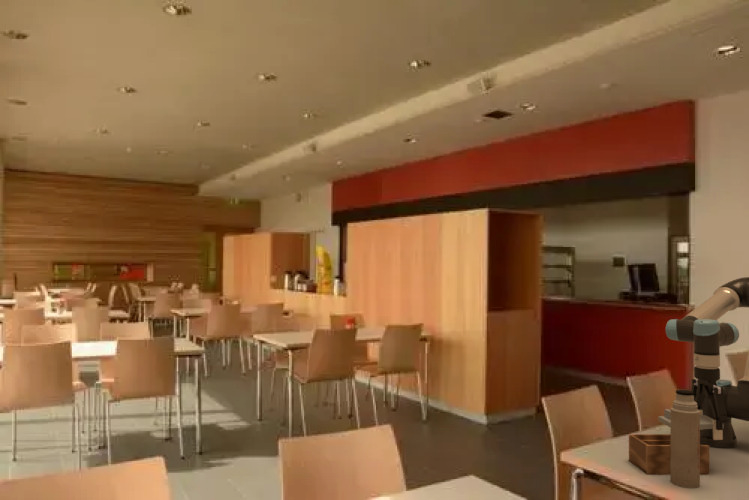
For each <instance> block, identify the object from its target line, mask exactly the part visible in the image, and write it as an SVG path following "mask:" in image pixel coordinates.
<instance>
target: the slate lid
mask: <svg viewBox="0 0 749 500" xmlns="http://www.w3.org/2000/svg"><path fill="white" fill-rule="evenodd" d="M663 410H664V412H663V413H664V415H661V416H660V415H659V416H657V417H658V419H657V420H658V421H659V422H660V423H661V424H664V425H665V426H667V427H668V428H671V408H670V409H669V408H665V409H663ZM700 429H713V419H712V418H710V417H708V416H706V415H700ZM723 429H724V424H723Z"/></svg>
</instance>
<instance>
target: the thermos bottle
mask: <svg viewBox="0 0 749 500" xmlns="http://www.w3.org/2000/svg"><path fill="white" fill-rule="evenodd" d="M675 393H676V395H675V399H674V400H673V401H672V406H671V407H670V410H671V427H670V434H671V466H670V475H669V476H670V477H669V478H670V483H672V484H673V485H675V486H677V485H678V487H682V488H686V487H688V489H696V488H699V487H700V486H701V484H700V483H701V476H700V445H701V444H700V411H699V410H698V409H697V407H698V406H697V403H696V402H695V401H694V396H693V395H694V392H692V391H691V390H688V389H687V390H686V389H677V390H675Z"/></svg>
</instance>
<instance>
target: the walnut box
mask: <svg viewBox="0 0 749 500" xmlns="http://www.w3.org/2000/svg"><path fill="white" fill-rule="evenodd" d="M628 462H630V463H631V464H632V465H634V466H635V467H636V468H637V469H639V470H641V472H643V473H644V474H646V475H648V476H649V475H651V476H652V475H657V476H658V475H660V476H661V475H666V476H668V475H669V476H670V466H671V433H670V434H669V433H668V434H667V433H666V434H665V433H660V434H658V433H657V434H656V433H655V434H654V433H653V434H652V433H651V434H650V433H645V434H644V433H641V434H640V433H639V434H636V433H635V434H634V433H632V434H631V433H630V434H628ZM700 475H710V446H709V445H702V444H700Z"/></svg>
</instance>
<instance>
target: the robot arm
mask: <svg viewBox="0 0 749 500" xmlns="http://www.w3.org/2000/svg"><path fill="white" fill-rule="evenodd" d="M738 308H749V276H747V277H745V276H744V277H740V278H736V279H733V280H731V281H728V282H726V283H724V284H722V285H721V286H719V287H717V289H715V290H714V292H713V293H712V295H711V296H710V297H708V299H706V300H705V301H704V302H702V303H701V304H700V305H698V306H697V307H696V308H694V309H693V310H691V312H689V313H688V314H687V315H684V317H682V318H681V319H678V318H675V319H674V318H673V319H669V320H668V321H667V323H666V324H665V325H666V326H665V334H666V335H665V336H666V337H667V338H668V339H670V340H672V341H678V342H684V343H685V342H686V343H693V365H694V367H693V377H694V378H692V379H691V389H690V391H692V392H694V395H693V396H694V401H695V402H696V403H697V406H698V407H697V409H698V410H699V411H700V415H706V416H708V417H710V418H712V419H713V429H700V445H709V447H712V448H723V449H725V448H727V449H728V448H729V449H730V448H736V447H737V445H738V439H737V435H736V432H735V430H734V427H733V424H732V419H736V420H740V421H746V422H749V350H748V352H747V357H746V363H745V368H744V374H743V377H742V378H740V379H738V381H737V383H736V384H737V385H733V383H732V381H731V380H728V379H721V369H720V368H719V367H720V366H721V354H720V347H725V346H727V347H728V346H730V345H733V344H735V343H737V341H738V340H739V338H740V332H739V329H738V328H737V327H738V326H736V325H735V324H733V323H730V322H720V321H718V320H719V319H720V318H721V317H722V316H724V315H725V314H727V313H728V312H730V311H734V310H736V309H738ZM723 424H724V429H723Z"/></svg>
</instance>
